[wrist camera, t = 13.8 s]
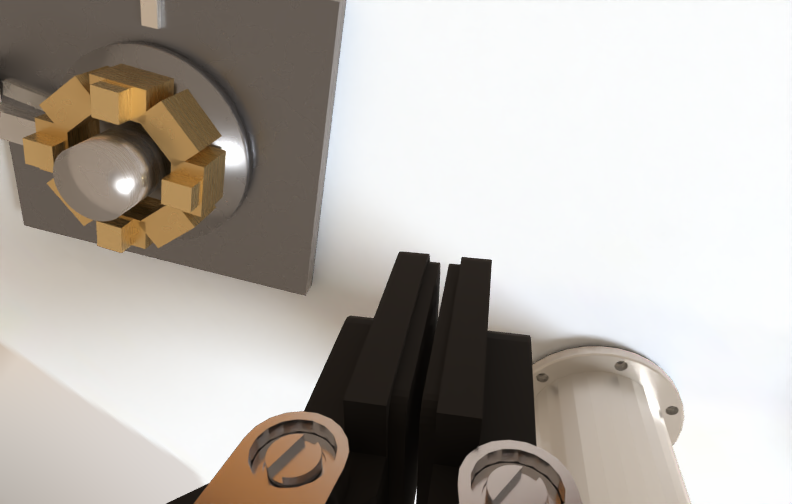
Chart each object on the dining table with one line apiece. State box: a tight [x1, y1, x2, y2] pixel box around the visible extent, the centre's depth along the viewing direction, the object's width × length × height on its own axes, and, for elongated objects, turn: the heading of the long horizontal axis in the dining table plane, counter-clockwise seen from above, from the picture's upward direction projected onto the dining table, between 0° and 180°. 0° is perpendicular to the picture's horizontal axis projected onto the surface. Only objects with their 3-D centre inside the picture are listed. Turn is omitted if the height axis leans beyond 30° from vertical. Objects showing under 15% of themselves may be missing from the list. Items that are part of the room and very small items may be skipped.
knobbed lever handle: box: [0, 63, 226, 253], centre depth 34 cm, size 20×10×4 cm, turn 77°
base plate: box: [0, 0, 346, 296], centre depth 34 cm, size 20×22×8 cm
